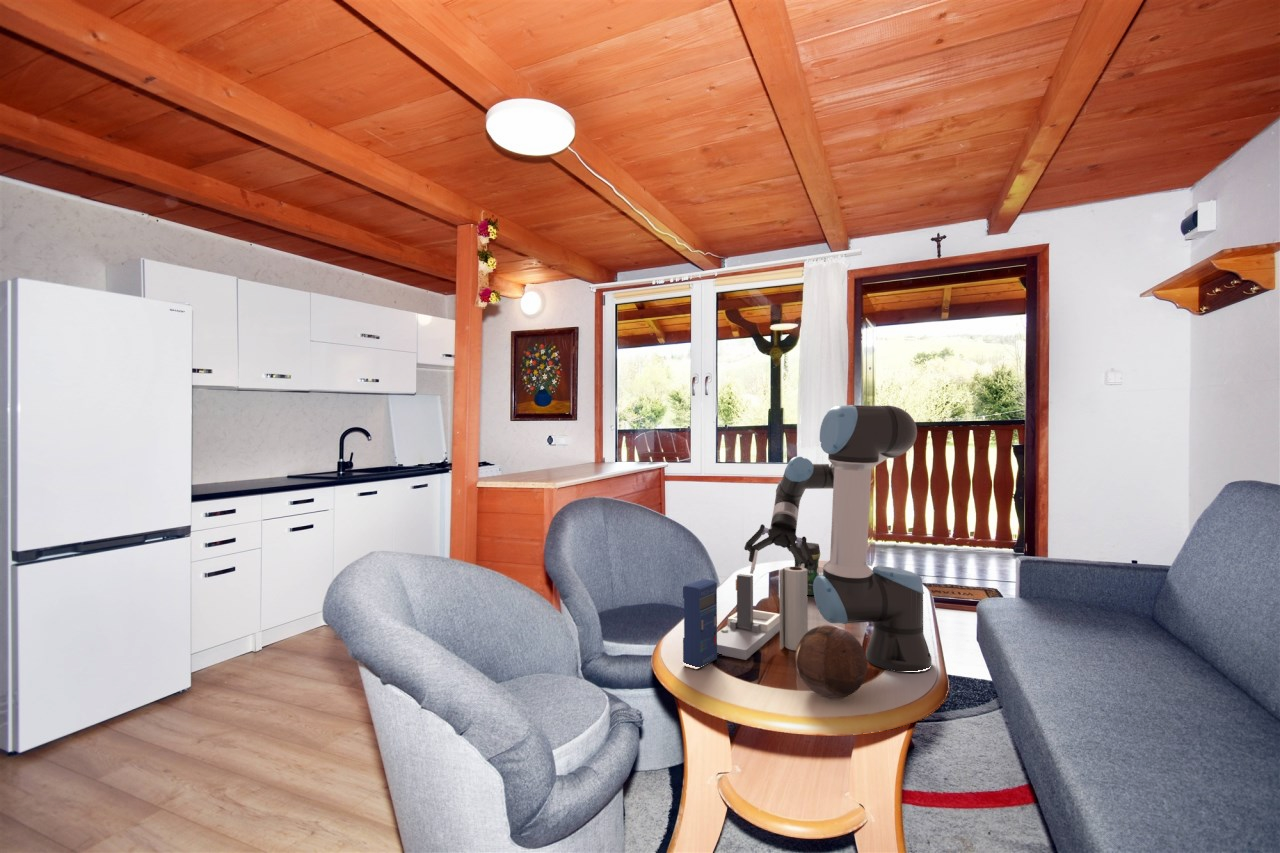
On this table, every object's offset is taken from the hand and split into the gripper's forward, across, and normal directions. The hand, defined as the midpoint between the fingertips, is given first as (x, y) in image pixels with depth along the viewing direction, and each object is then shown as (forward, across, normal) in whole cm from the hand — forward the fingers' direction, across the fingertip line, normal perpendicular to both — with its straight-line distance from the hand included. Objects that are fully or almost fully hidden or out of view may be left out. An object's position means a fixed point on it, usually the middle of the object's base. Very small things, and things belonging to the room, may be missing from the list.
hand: (775, 578), depth 165 cm
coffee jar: (-32, -19, -47) cm, 60 cm away
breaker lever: (+10, +4, -13) cm, 17 cm away
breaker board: (+12, +3, -15) cm, 20 cm away
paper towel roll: (+13, -9, -10) cm, 19 cm away
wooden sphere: (+35, -14, +11) cm, 39 cm away
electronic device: (+29, +15, -4) cm, 33 cm away
